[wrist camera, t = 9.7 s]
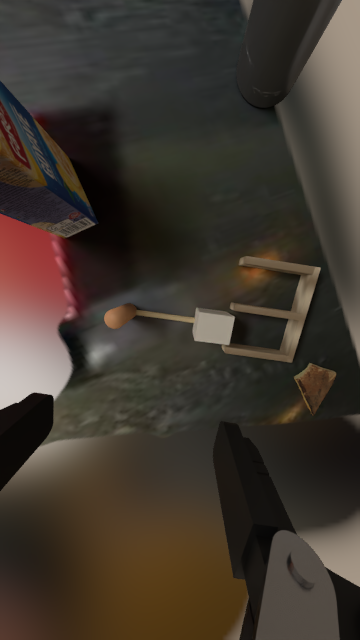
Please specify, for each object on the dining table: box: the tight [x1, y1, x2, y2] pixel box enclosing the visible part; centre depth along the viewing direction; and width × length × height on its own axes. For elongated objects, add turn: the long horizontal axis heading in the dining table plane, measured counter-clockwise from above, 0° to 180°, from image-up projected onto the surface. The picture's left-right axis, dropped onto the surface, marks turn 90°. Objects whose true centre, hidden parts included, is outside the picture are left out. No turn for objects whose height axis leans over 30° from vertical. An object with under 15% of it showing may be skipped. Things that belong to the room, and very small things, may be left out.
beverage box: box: [0, 81, 98, 238], centre depth 20 cm, size 7×11×22 cm, turn 22°
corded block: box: [104, 303, 235, 345], centre depth 31 cm, size 5×20×8 cm, turn 82°
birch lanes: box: [222, 256, 321, 363], centre depth 33 cm, size 18×13×3 cm
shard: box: [294, 363, 336, 416], centre depth 37 cm, size 11×8×2 cm
